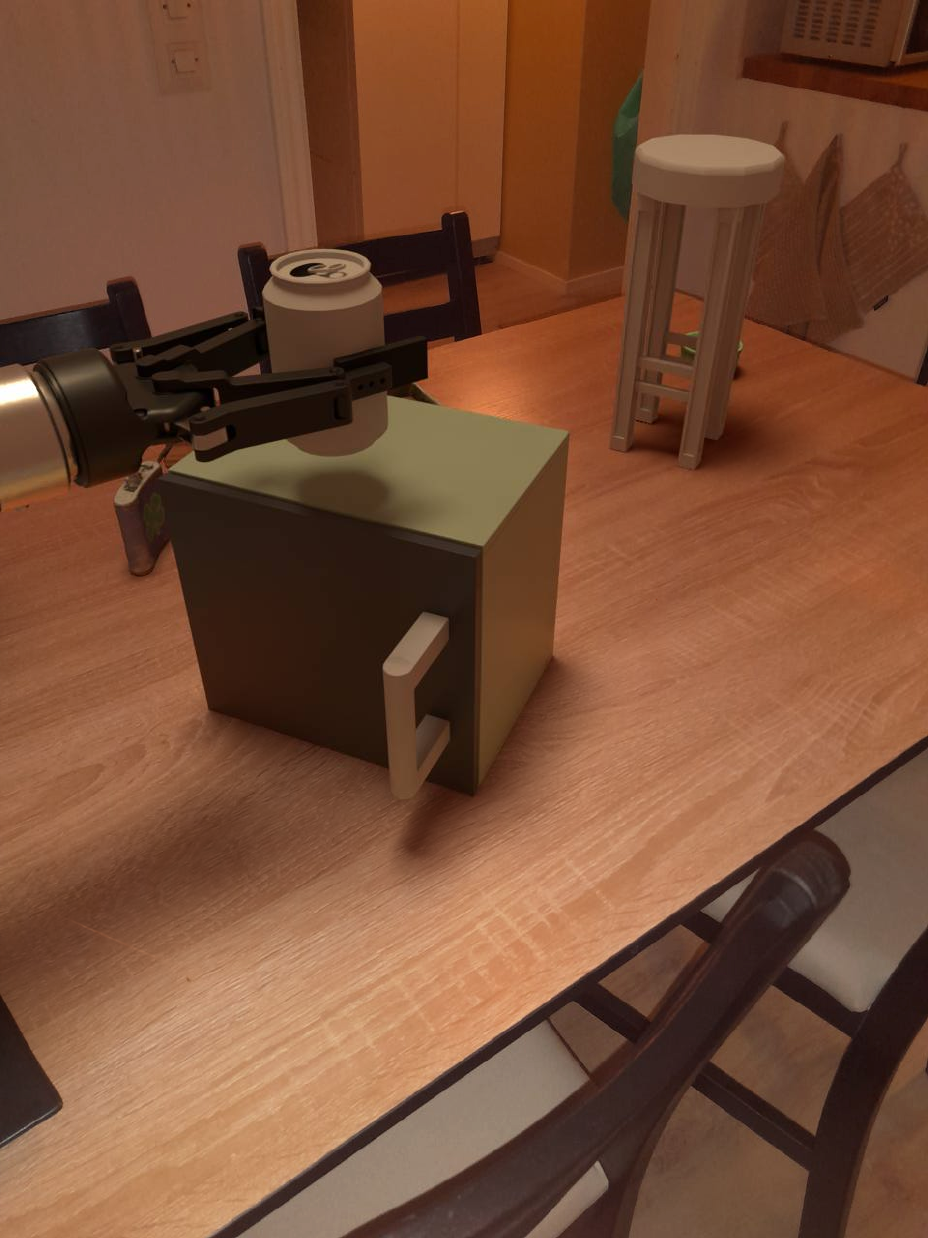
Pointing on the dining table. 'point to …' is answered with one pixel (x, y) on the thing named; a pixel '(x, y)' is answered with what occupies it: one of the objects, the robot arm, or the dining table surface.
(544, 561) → the olive green cabinet
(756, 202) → the stool
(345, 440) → the can
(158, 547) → the flask
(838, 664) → the dining table surface
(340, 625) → the cabinet door
